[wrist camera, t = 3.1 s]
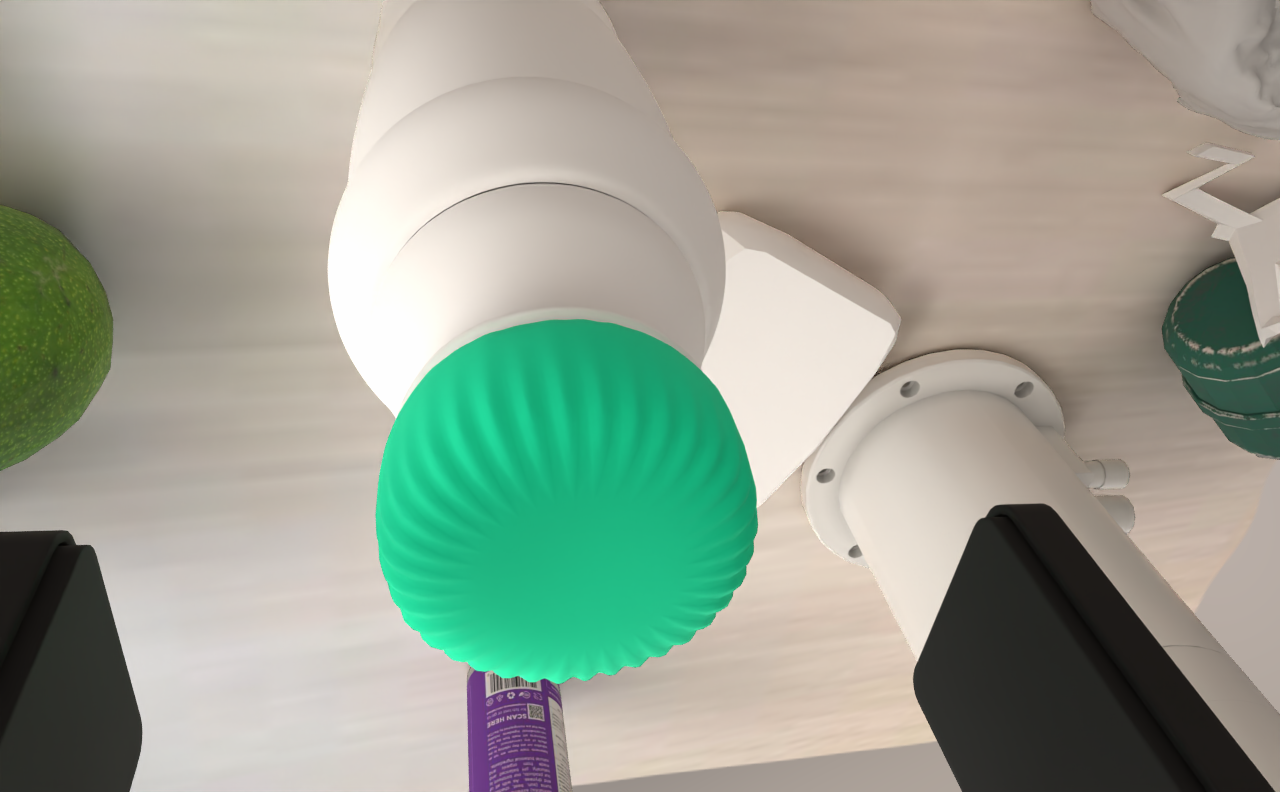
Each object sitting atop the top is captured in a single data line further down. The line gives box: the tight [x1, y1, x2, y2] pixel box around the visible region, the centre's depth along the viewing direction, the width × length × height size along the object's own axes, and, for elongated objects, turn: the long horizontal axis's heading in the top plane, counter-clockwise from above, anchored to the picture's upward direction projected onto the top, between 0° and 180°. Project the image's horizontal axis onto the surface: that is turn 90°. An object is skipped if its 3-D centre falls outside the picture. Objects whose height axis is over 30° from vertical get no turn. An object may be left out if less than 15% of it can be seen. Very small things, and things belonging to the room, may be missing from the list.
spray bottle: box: [701, 211, 901, 508], centre depth 42 cm, size 3×11×24 cm
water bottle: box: [328, 0, 758, 684], centre depth 21 cm, size 7×7×25 cm
